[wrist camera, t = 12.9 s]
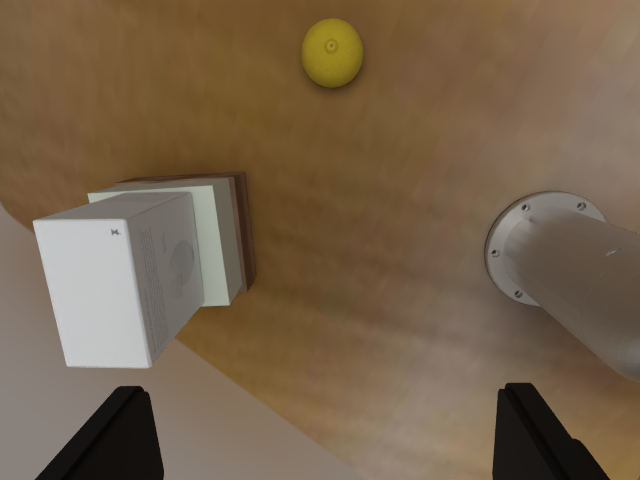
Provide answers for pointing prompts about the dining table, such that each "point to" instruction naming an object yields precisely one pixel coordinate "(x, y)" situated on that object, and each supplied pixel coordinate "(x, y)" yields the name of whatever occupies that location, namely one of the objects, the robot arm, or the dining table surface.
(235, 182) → the walnut slab
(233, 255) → the grey green slab
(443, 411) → the dining table surface
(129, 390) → the robot arm
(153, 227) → the skincare box
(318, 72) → the lemon
